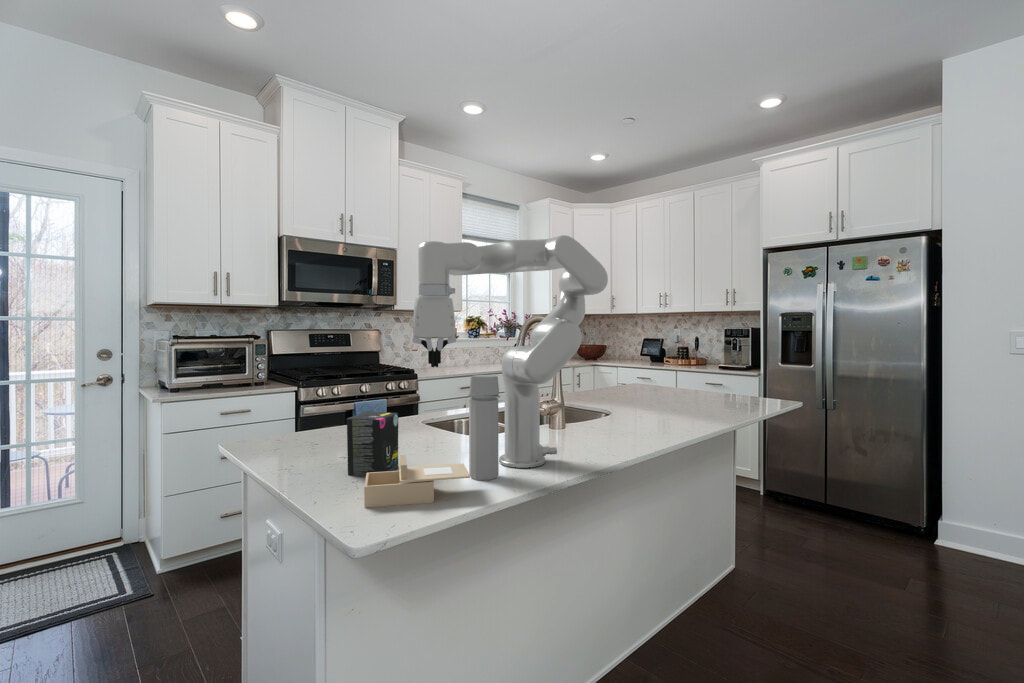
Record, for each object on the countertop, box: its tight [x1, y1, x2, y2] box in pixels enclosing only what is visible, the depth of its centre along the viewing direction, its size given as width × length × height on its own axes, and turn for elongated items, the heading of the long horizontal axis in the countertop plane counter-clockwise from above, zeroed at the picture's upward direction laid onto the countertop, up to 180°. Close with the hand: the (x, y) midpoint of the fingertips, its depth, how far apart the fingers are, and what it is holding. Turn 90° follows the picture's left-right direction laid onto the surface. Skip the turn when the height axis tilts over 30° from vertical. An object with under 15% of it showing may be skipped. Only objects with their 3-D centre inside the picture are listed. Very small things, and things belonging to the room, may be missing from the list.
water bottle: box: [467, 374, 501, 482], centre depth 126 cm, size 9×8×25 cm
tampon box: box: [346, 411, 399, 478], centre depth 131 cm, size 11×9×15 cm
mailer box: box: [363, 470, 435, 509], centre depth 111 cm, size 14×10×5 cm
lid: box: [398, 454, 471, 483], centre depth 112 cm, size 15×10×3 cm
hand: (434, 366), depth 127 cm, fingers closed
